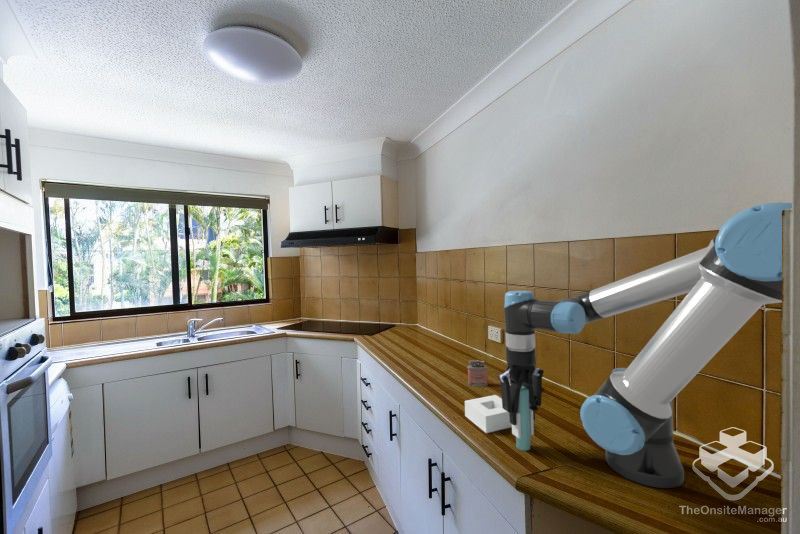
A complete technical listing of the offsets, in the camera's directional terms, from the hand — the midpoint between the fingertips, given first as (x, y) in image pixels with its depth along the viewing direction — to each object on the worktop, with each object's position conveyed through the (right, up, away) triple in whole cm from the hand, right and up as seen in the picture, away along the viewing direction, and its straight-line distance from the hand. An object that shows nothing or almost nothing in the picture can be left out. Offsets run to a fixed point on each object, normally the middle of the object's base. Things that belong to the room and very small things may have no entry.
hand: (522, 433), depth 90 cm
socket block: (-4, -4, +15) cm, 16 cm away
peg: (0, -4, 0) cm, 4 cm away
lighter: (-1, -3, +46) cm, 46 cm away
